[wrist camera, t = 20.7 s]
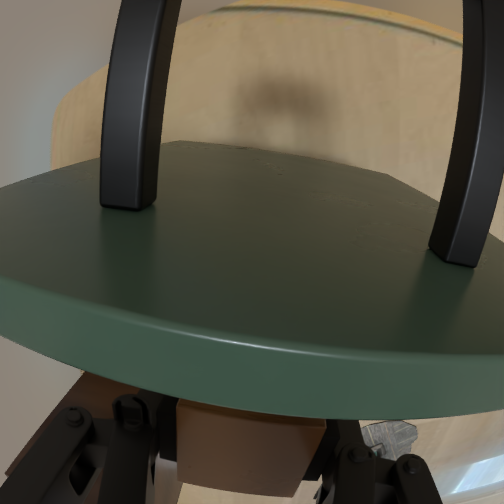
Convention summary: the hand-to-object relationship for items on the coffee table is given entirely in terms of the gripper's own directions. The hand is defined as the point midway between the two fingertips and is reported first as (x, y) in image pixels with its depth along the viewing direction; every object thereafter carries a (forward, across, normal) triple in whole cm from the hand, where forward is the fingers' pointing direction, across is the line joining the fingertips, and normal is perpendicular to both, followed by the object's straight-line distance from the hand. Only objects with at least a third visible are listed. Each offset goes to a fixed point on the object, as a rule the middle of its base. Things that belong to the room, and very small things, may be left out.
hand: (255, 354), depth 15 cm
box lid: (-4, 0, +8) cm, 9 cm away
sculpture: (+13, +19, -23) cm, 32 cm away
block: (+1, 0, 0) cm, 1 cm away
